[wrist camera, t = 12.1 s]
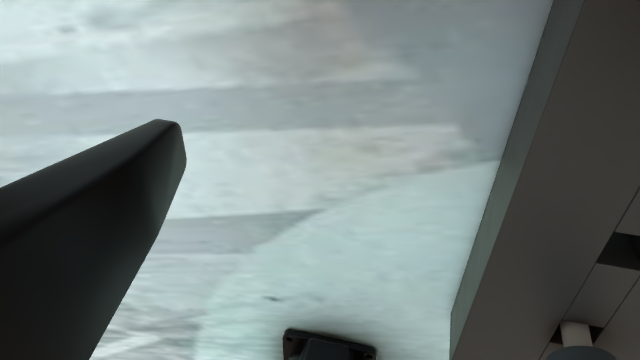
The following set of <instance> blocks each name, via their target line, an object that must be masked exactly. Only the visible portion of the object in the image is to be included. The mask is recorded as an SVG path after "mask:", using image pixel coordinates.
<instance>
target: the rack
mask: <svg viewBox="0 0 640 360" xmlns="http://www.w3.org/2000/svg"><path fill="white" fill-rule="evenodd" d="M562 319H563V320H565V321H570V322H576V323H581V324H586V325H588V326H589V331H590V336H591V341H592V345H593V347H596V348H600V349H603V350H605V351H608V352H609V353H611V354H613V355H614V356H615V357H616V358H617V359H618V360H640V0H554V3H553V6H552V9H551V12H550V15H549V18H548V21H547V24H546V27H545V30H544V33H543V36H542V39H541V42H540V45H539V48H538V51H537V54H536V57H535V60H534V63H533V66H532V69H531V72H530V75H529V78H528V81H527V84H526V88H525V91H524V94H523V97H522V100H521V103H520V106H519V109H518V112H517V115H516V118H515V121H514V124H513V127H512V130H511V133H510V136H509V139H508V142H507V145H506V148H505V151H504V154H503V157H502V160H501V163H500V166H499V169H498V172H497V175H496V178H495V181H494V185H493V188H492V191H491V194H490V197H489V200H488V203H487V206H486V209H485V212H484V215H483V218H482V221H481V224H480V227H479V230H478V233H477V236H476V239H475V242H474V245H473V248H472V251H471V254H470V257H469V260H468V263H467V266H466V269H465V272H464V275H463V278H462V281H461V285H460V288H459V291H458V294H457V297H456V300H455V303H454V306H453V309H452V312H451V324H450V356H449V360H546V358H547V357H548V356H549V355H550V354H551V353H552V352H554V351H556V350H558V349H561V348H564V347H563V340H562V334H561V328H560V322H561V320H562Z"/></svg>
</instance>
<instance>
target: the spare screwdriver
mask: <svg viewBox="0 0 640 360" xmlns="http://www.w3.org/2000/svg"><path fill="white" fill-rule="evenodd" d="M560 328H561V334H562V340H563V347H564V348H561V349H558V350H556V351H554V352H552V353H551V354H550V355H549V356H548V357H547V358H546V360H618V359H617V358H616V357H615V356H614V355H613V354H611V353H609V352H608V351H605V350H603V349H600V348H596V347H593V345H592V341H591V336H590V331H589V326H588V325H586V324H581V323H576V322H570V321H565V320H563V319H562V320H561V322H560Z"/></svg>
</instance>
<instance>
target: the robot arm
mask: <svg viewBox="0 0 640 360" xmlns="http://www.w3.org/2000/svg"><path fill="white" fill-rule="evenodd" d="M185 168H186V152H185V147H184V142H183V136H182V131H181V127H180V125H179V124H178V123H177V122H174V121H168V120H162V119H155V120H153V121H150V122H148V123H146V124H144V125H141V126H139V127H137V128H135V129H132V130H130V131H128V132H125V133H123V134H121V135H119V136H116V137H114V138H112V139H110V140H107V141H105V142H103V143H101V144H98V145H96V146H94V147H91V148H89V149H87V150H85V151H82V152H80V153H78V154H76V155H73V156H71V157H69V158H67V159H64V160H62V161H60V162H58V163H55V164H53V165H51V166H48V167H46V168H44V169H42V170H39V171H37V172H35V173H33V174H30V175H28V176H26V177H24V178H21V179H19V180H17V181H14V182H12V183H10V184H8V185H5V186H3V187H1V188H0V360H89V359H90V357H91V355H92V353H93V351H94V350H95V348H96V346H97V344H98V343H99V341H100V339H101V337H102V335H103V334H104V332H105V330H106V328H107V326H108V325H109V323H110V321H111V319H112V317H113V316H114V314H115V312H116V310H117V308H118V307H119V305H120V303H121V301H122V299H123V298H124V296H125V294H126V292H127V290H128V289H129V287H130V285H131V283H132V281H133V280H134V278H135V276H136V274H137V272H138V271H139V269H140V267H141V265H142V263H143V262H144V260H145V258H146V256H147V254H148V253H149V251H150V249H151V247H152V245H153V243H154V242H155V240H156V238H157V236H158V234H159V231H160V229H161V227H162V225H163V222H164V220H165V217H166V215H167V212H168V210H169V208H170V205H171V203H172V200H173V198H174V195H175V193H176V190H177V188H178V186H179V183H180V181H181V178H182V176H183V173H184V171H185ZM283 354H284V360H376V356H377V351H376V350H375V349H374V348H371V347H367V346H363V345H358V344H353V343H348V342H344V341H339V340H334V339H330V338H325V337H320V336H316V335H311V334H306V333H302V332H297V331H292V330H286V331H285V332H284V335H283Z"/></svg>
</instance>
